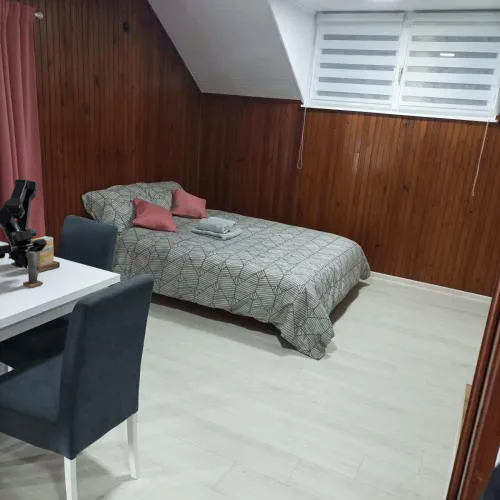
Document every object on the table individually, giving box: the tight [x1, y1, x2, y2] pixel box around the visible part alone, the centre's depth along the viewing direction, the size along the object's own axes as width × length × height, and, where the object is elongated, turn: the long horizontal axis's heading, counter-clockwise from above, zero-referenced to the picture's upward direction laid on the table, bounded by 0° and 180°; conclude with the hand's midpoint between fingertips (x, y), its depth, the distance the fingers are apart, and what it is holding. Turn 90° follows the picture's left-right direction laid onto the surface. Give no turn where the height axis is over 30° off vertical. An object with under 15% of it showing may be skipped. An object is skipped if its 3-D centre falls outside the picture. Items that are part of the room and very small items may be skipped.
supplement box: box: [31, 235, 55, 267], centre depth 200 cm, size 8×5×13 cm, turn 161°
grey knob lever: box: [22, 252, 61, 288], centre depth 191 cm, size 16×22×13 cm
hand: (30, 267), depth 181 cm, fingers open, 3 cm apart
